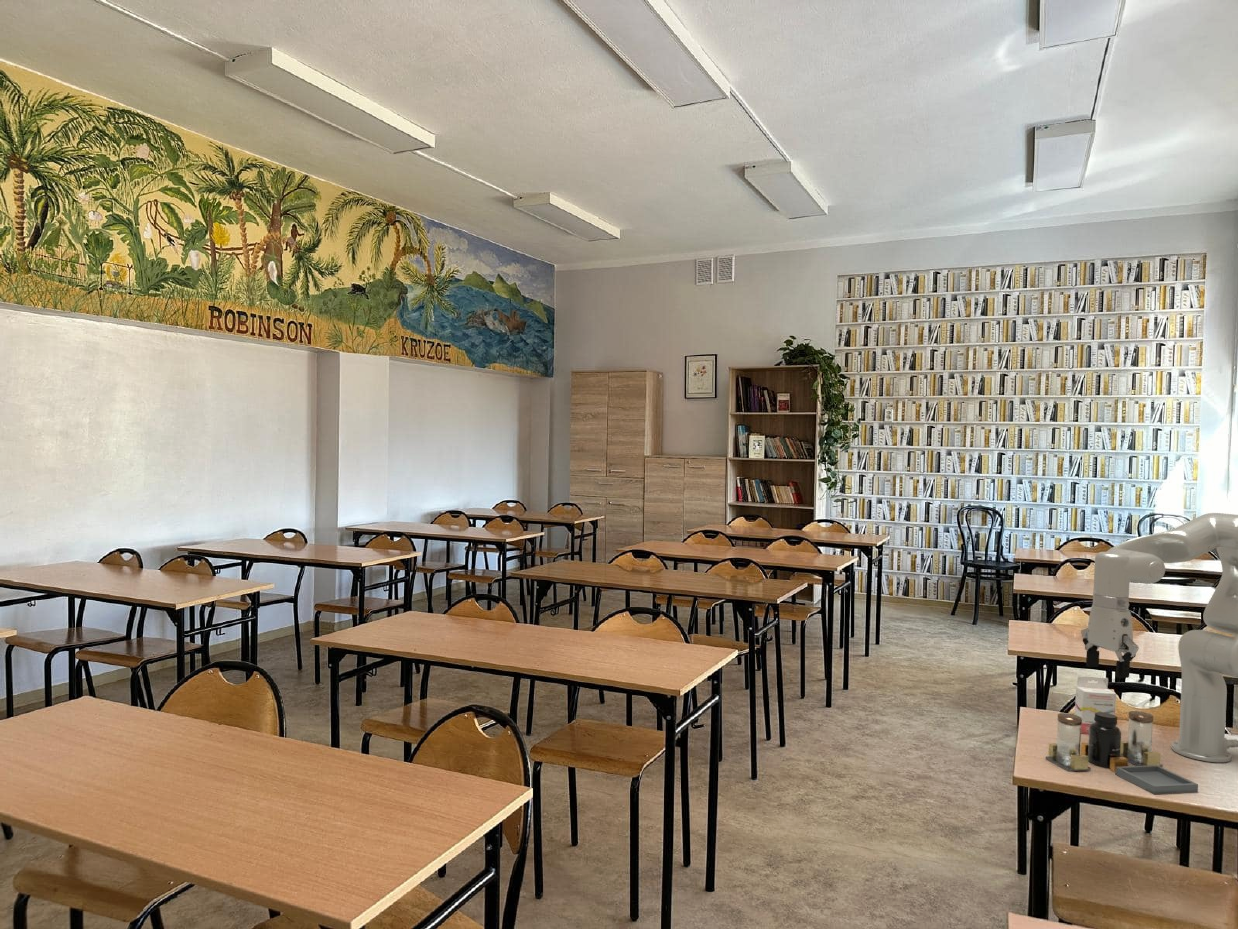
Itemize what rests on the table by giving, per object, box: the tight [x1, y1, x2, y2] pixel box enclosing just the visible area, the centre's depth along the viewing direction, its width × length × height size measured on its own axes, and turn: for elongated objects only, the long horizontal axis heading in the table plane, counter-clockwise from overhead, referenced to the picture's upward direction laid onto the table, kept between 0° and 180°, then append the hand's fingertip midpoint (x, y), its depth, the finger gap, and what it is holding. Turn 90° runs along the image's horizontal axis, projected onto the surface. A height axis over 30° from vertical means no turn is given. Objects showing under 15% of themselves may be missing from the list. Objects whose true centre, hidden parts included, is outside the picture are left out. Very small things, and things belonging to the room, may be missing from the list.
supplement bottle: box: [1088, 712, 1122, 769], centre depth 204 cm, size 7×7×12 cm
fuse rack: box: [1045, 710, 1164, 773], centre depth 204 cm, size 26×11×12 cm, turn 100°
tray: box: [1114, 765, 1199, 795], centre depth 193 cm, size 11×11×2 cm
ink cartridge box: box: [1074, 675, 1117, 735], centre depth 228 cm, size 9×5×15 cm, turn 84°
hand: (1107, 672), depth 204 cm, fingers open, 9 cm apart
